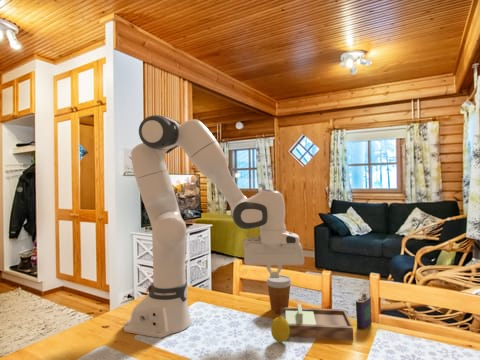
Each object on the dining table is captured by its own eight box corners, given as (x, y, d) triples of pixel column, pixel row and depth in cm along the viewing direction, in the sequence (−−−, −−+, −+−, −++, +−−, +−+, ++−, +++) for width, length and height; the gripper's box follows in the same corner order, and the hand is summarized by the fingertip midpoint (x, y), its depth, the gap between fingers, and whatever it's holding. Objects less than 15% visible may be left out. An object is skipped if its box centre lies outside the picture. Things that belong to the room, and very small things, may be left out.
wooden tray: (280, 336, 95) (280, 324, 95) (280, 316, 109) (280, 306, 109) (353, 339, 92) (353, 328, 92) (344, 319, 106) (343, 309, 106)
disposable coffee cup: (274, 303, 122) (274, 273, 122) (296, 308, 116) (295, 277, 116) (262, 311, 114) (261, 279, 114) (284, 317, 108) (284, 284, 108)
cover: (285, 325, 97) (285, 314, 97) (285, 312, 107) (285, 301, 107) (316, 327, 96) (316, 315, 96) (313, 313, 106) (313, 302, 106)
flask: (365, 318, 106) (364, 288, 106) (374, 321, 104) (373, 290, 104) (355, 328, 99) (354, 296, 100) (364, 331, 97) (363, 298, 98)
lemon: (289, 348, 88) (288, 321, 88) (270, 347, 89) (269, 319, 89) (290, 339, 94) (289, 313, 94) (272, 337, 95) (271, 311, 95)
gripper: (241, 239, 101) (243, 280, 101) (303, 238, 98) (305, 280, 98) (244, 235, 107) (245, 274, 107) (302, 234, 105) (304, 274, 105)
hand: (274, 277), depth 103 cm, fingers closed
